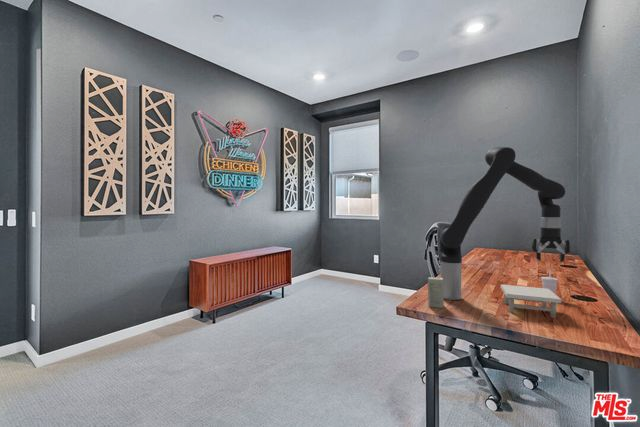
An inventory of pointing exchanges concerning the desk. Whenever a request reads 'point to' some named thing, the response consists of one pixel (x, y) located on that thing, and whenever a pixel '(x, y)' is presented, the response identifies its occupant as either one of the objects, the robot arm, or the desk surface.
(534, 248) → the robot arm
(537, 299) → the footstool
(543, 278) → the smoothie
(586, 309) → the desk surface
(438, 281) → the skincare box
